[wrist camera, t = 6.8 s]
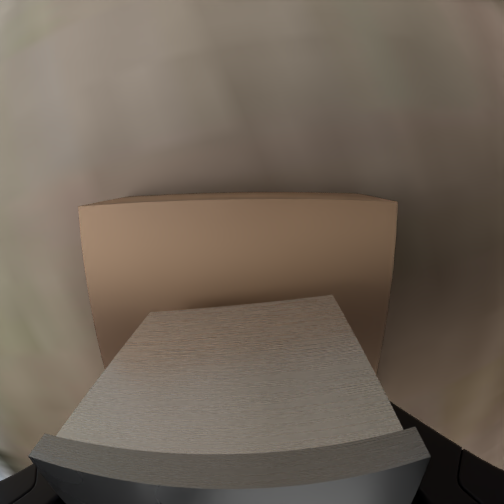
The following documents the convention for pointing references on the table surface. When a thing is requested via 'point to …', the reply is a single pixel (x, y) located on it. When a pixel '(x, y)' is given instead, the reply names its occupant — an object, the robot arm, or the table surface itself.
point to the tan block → (237, 257)
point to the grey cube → (236, 415)
